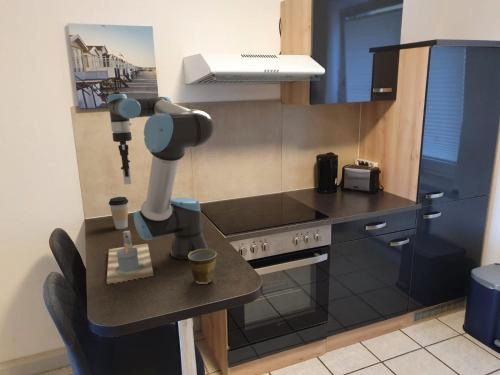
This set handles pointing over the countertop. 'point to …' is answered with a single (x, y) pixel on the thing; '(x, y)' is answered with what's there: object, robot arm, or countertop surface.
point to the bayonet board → (120, 276)
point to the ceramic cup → (202, 264)
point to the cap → (128, 259)
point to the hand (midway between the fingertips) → (127, 180)
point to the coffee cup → (119, 212)
